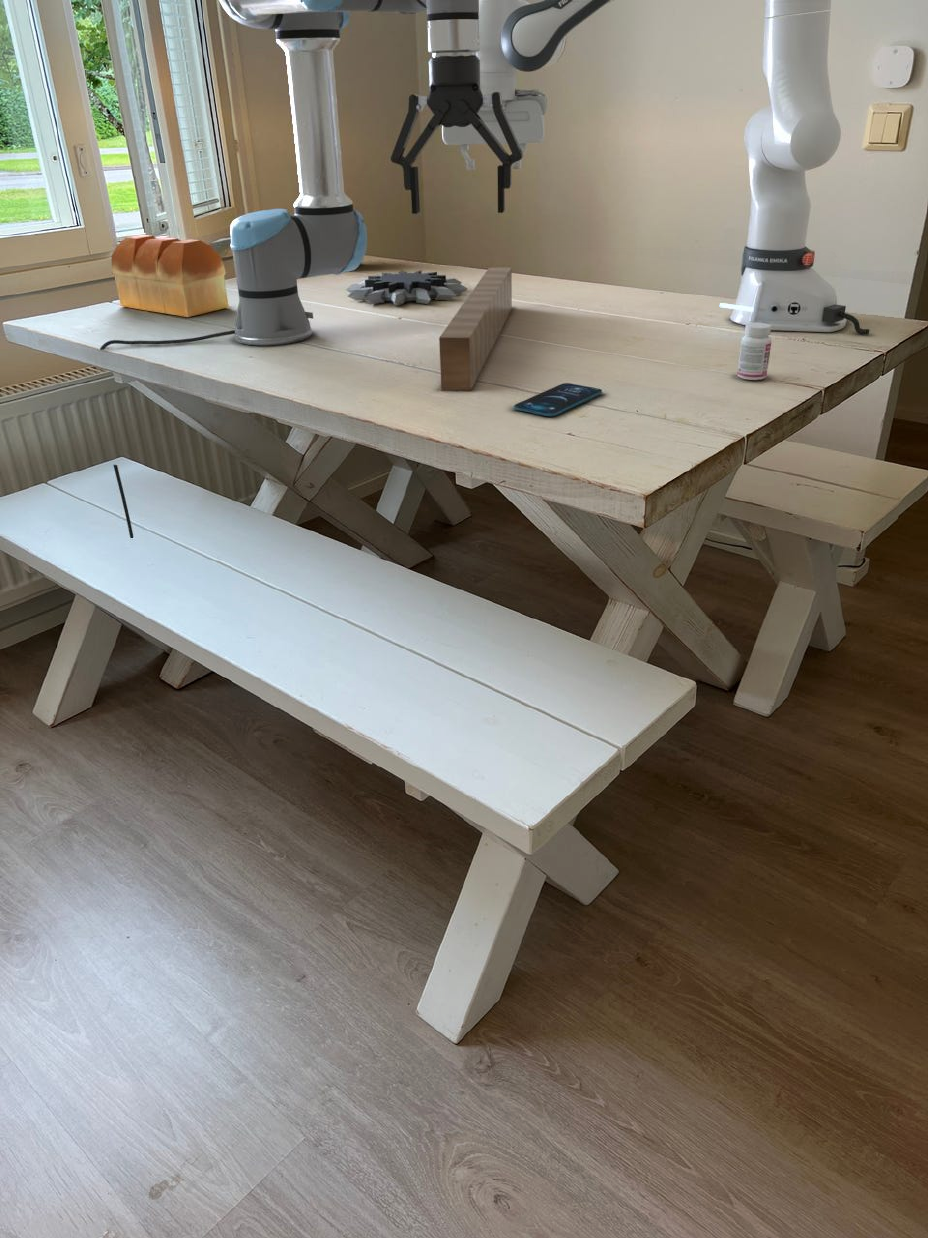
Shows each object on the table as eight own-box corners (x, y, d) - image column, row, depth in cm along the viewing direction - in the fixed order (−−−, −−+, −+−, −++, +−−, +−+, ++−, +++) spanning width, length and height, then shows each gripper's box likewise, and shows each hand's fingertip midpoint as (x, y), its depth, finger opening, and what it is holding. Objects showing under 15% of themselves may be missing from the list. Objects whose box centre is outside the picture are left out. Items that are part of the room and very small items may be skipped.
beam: (470, 390, 155) (469, 337, 151) (441, 390, 156) (439, 337, 151) (511, 307, 209) (511, 266, 205) (489, 307, 210) (489, 267, 206)
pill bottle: (768, 380, 155) (775, 328, 150) (738, 380, 155) (744, 328, 151) (765, 372, 159) (772, 321, 155) (736, 372, 160) (742, 321, 155)
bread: (118, 306, 222) (104, 238, 214) (161, 296, 230) (149, 231, 223) (188, 317, 209) (176, 246, 201) (231, 306, 217) (221, 238, 210)
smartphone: (510, 405, 145) (564, 381, 155) (510, 409, 145) (564, 385, 155) (552, 414, 141) (604, 389, 151) (552, 418, 141) (604, 393, 151)
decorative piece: (415, 294, 204) (314, 282, 220) (416, 313, 206) (316, 299, 222) (493, 272, 225) (396, 262, 241) (494, 289, 227) (397, 278, 243)
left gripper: (541, 52, 139) (539, 208, 150) (376, 58, 143) (386, 209, 153) (537, 51, 133) (535, 214, 144) (365, 57, 136) (375, 215, 147)
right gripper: (548, 88, 183) (546, 166, 190) (444, 91, 186) (446, 168, 193) (545, 88, 178) (544, 169, 185) (439, 91, 181) (441, 171, 188)
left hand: (458, 212), depth 149 cm, fingers open, 13 cm apart
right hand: (493, 169), depth 189 cm, fingers open, 8 cm apart
